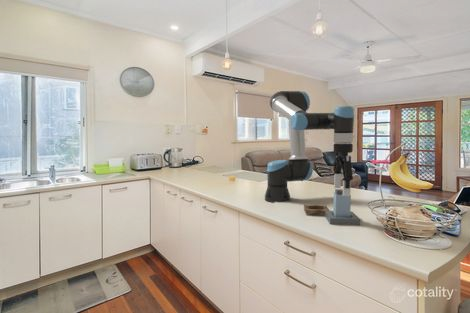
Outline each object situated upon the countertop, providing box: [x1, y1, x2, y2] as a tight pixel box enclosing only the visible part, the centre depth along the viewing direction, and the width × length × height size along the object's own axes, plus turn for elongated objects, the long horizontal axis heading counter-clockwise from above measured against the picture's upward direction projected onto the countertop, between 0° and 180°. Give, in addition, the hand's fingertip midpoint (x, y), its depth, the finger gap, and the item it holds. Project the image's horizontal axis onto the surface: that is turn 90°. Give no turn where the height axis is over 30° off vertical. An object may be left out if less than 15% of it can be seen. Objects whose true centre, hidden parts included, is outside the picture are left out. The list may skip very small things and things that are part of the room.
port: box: [324, 210, 361, 226], centre depth 107 cm, size 12×10×3 cm
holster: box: [303, 204, 331, 217], centre depth 118 cm, size 10×8×3 cm
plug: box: [332, 188, 352, 217], centre depth 107 cm, size 6×4×14 cm, turn 82°
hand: (341, 191), depth 106 cm, fingers open, 13 cm apart
